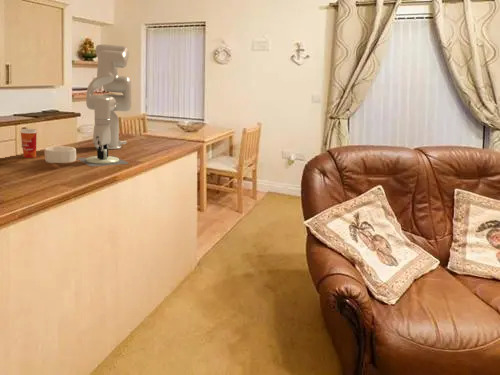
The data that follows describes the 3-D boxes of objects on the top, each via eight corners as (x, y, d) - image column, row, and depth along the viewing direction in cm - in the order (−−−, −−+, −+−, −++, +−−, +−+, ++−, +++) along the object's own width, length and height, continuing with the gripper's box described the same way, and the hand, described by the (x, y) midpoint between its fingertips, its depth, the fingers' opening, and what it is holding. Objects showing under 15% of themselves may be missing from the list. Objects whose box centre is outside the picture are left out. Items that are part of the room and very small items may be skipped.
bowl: (70, 157, 226) (70, 145, 224) (79, 162, 216) (79, 150, 214) (41, 158, 217) (41, 147, 215) (50, 164, 207) (49, 152, 205)
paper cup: (17, 157, 217) (16, 129, 213) (30, 154, 223) (29, 127, 220) (29, 159, 214) (28, 131, 210) (42, 156, 221) (40, 129, 217)
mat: (113, 156, 235) (113, 155, 235) (129, 164, 220) (129, 163, 220) (76, 159, 222) (76, 158, 222) (90, 167, 207) (90, 166, 207)
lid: (111, 156, 232) (111, 145, 230) (124, 162, 220) (124, 151, 219) (81, 158, 222) (81, 147, 220) (93, 165, 210) (93, 153, 209)
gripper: (103, 119, 224) (104, 154, 229) (86, 123, 208) (87, 159, 213) (117, 121, 223) (117, 155, 228) (101, 124, 207) (101, 161, 212)
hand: (102, 157), depth 221 cm, fingers closed on lid, 4 cm apart
